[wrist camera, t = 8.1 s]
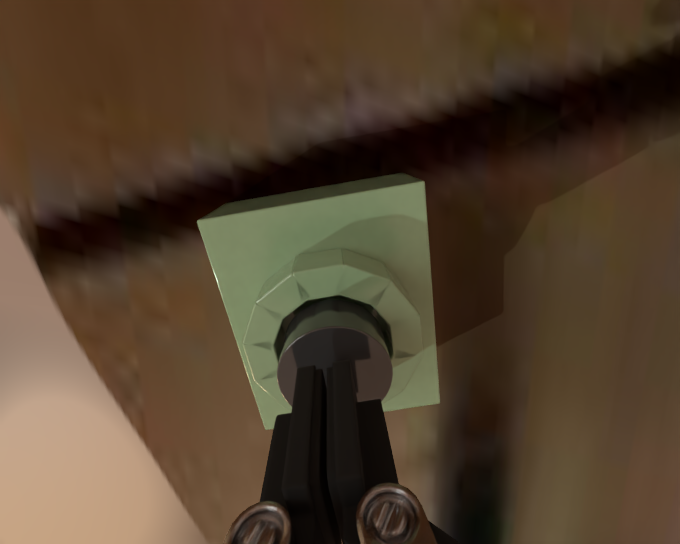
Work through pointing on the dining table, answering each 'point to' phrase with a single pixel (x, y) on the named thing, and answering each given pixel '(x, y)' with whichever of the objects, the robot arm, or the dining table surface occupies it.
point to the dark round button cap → (336, 347)
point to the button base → (329, 276)
